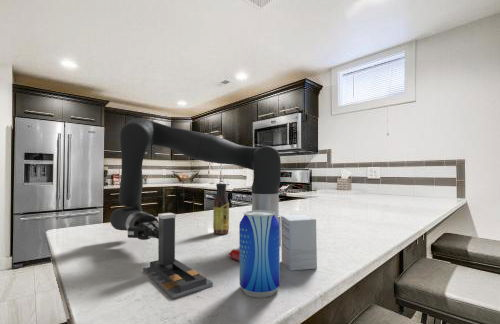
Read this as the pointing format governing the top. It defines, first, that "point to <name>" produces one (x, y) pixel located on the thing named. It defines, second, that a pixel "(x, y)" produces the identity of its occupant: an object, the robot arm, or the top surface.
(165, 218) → the fader knob
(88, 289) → the top surface
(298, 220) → the supplement box
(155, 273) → the fader track
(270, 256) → the beer can
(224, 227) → the sauce bottle
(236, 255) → the candy bar
